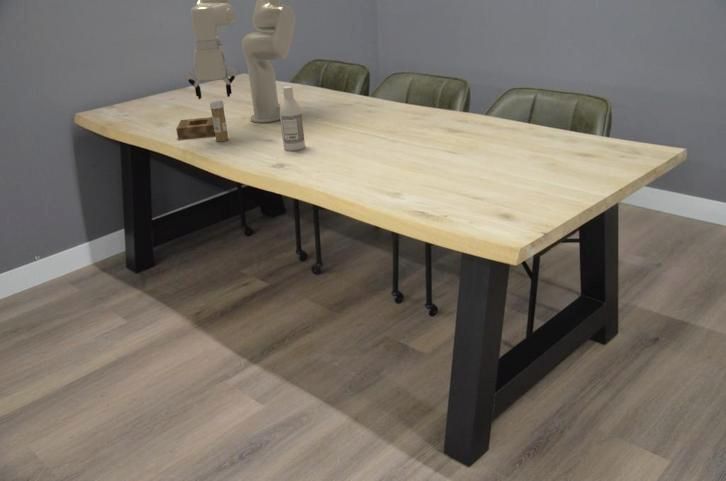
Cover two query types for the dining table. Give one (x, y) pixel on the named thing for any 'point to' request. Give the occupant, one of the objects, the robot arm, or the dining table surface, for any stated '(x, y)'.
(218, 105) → the sprinkles bottle
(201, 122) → the socket board
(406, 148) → the dining table surface
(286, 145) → the bath foam
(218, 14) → the robot arm
